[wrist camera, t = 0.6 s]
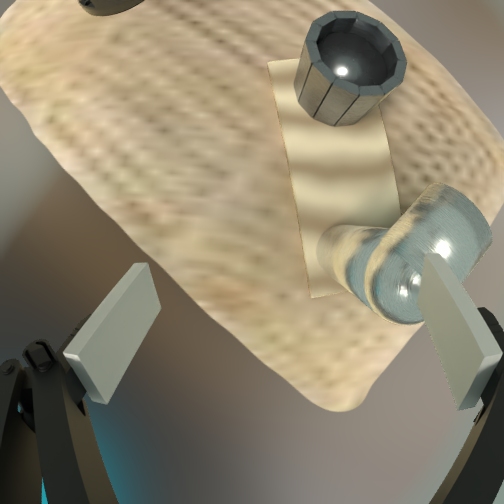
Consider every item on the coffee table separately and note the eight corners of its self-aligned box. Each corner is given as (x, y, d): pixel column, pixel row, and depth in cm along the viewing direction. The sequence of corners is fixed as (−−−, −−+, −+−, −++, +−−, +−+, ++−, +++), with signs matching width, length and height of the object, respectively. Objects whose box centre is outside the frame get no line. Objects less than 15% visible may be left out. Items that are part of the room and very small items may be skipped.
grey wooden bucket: (287, 59, 36) (296, 12, 25) (360, 55, 35) (387, 12, 24) (303, 130, 37) (320, 98, 26) (379, 123, 36) (417, 94, 25)
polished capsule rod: (340, 288, 38) (420, 358, 17) (305, 251, 38) (360, 290, 17) (391, 235, 38) (505, 253, 17) (358, 197, 37) (458, 178, 16)
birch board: (267, 66, 37) (267, 61, 36) (360, 59, 37) (363, 55, 35) (309, 295, 40) (311, 298, 39) (403, 276, 40) (408, 278, 38)
